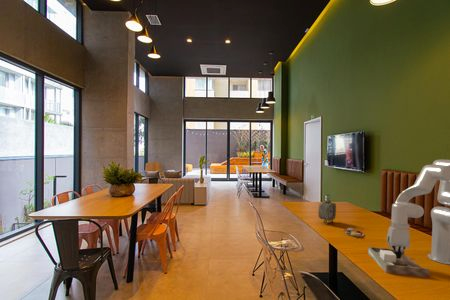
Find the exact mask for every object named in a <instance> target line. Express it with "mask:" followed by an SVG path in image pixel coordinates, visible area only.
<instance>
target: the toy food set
mask: <svg viewBox="0 0 450 300" xmlns="http://www.w3.org/2000/svg"><path fill="white" fill-rule="evenodd" d="M343 231H344V233H345V234H346V236H350V237H353V238H362V237H363V236H364V235H365V234H364V232H363V231H362V230H359V229H357V228H354V227H348V228H346V229H343Z"/></svg>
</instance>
